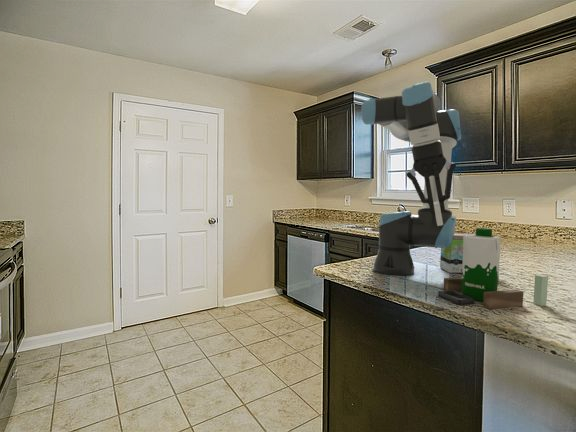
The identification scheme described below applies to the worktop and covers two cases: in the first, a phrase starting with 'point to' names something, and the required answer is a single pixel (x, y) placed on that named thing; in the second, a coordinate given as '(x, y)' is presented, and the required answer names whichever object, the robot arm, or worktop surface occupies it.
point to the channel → (489, 295)
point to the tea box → (453, 254)
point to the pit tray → (456, 297)
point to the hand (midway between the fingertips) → (440, 224)
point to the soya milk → (480, 263)
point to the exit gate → (540, 290)
